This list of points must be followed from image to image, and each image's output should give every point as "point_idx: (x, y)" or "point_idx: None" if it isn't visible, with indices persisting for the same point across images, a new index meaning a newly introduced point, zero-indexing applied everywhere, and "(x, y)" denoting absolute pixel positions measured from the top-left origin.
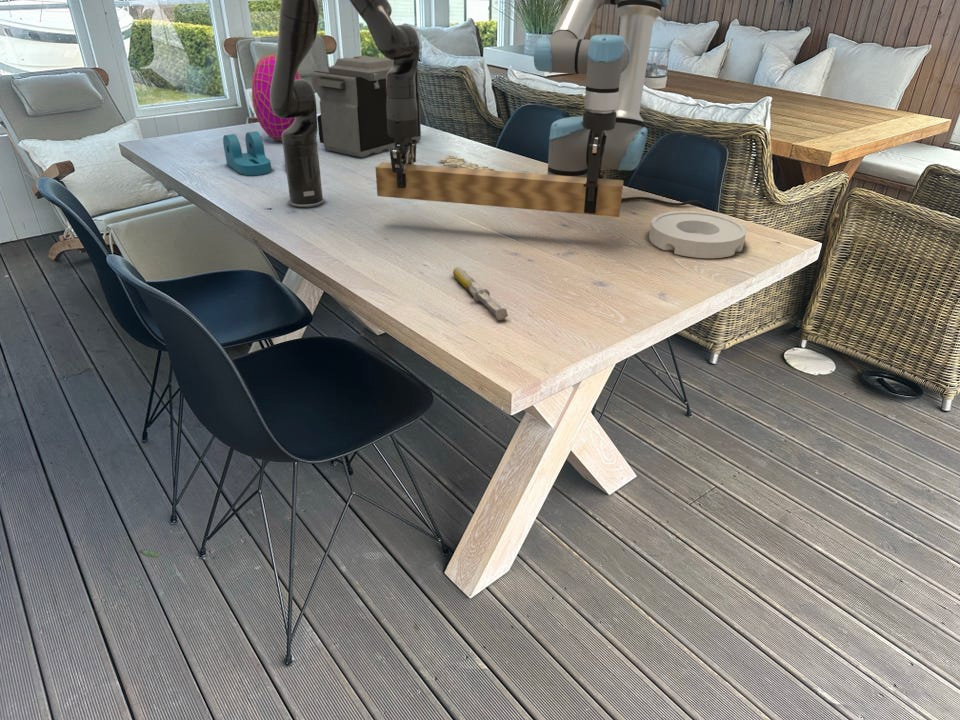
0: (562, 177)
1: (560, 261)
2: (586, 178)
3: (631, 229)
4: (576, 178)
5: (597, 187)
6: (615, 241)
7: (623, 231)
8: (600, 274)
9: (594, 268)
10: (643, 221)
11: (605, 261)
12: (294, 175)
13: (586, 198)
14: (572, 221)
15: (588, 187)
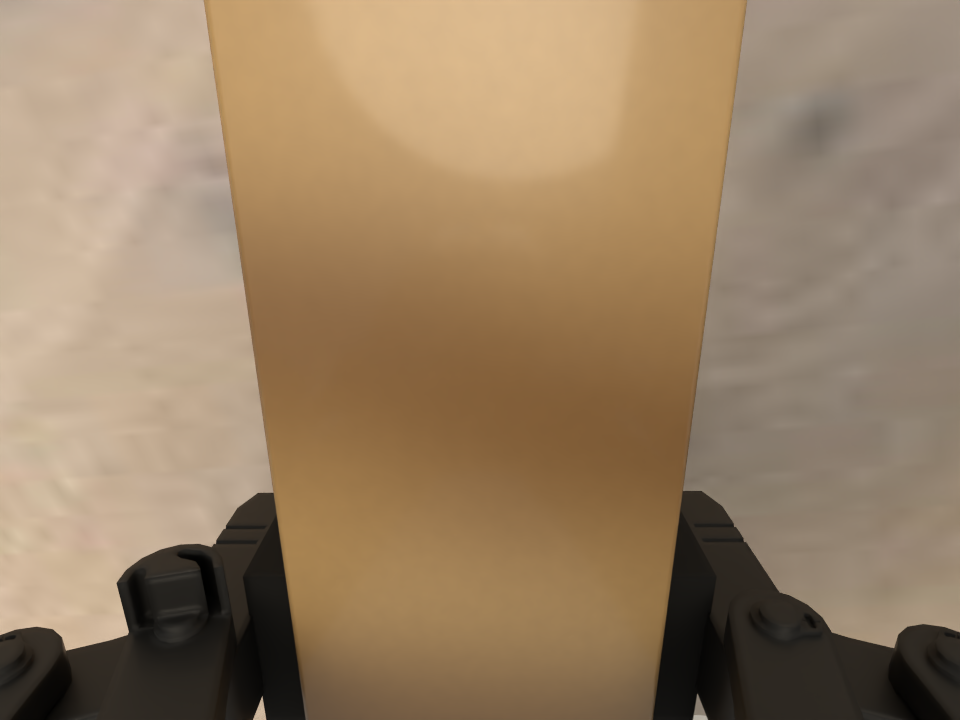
0: (579, 67)
1: (99, 198)
2: (611, 569)
3: (779, 552)
4: (568, 399)
5: (270, 713)
6: None
7: (738, 514)
8: (20, 446)
9: (88, 409)
10: (926, 602)
11: (219, 455)
12: None
13: None
14: (919, 180)
15: (257, 595)
